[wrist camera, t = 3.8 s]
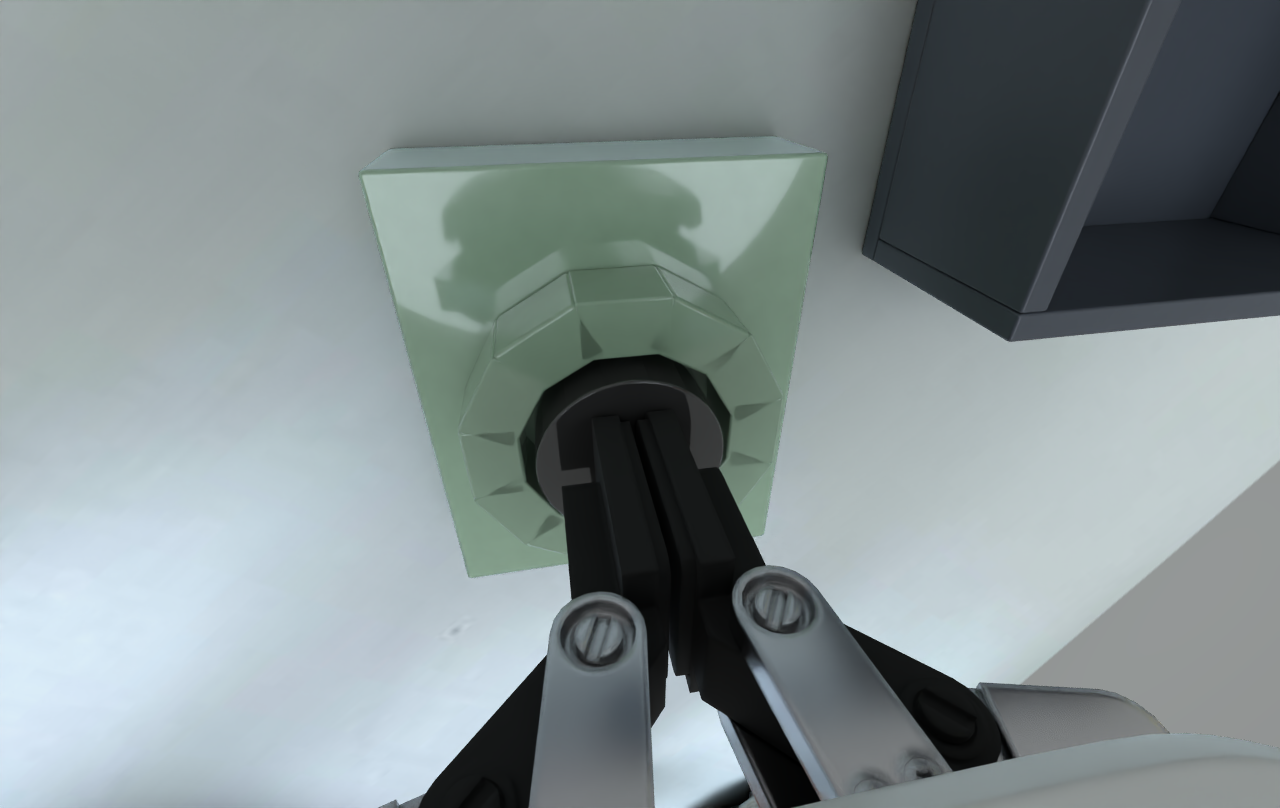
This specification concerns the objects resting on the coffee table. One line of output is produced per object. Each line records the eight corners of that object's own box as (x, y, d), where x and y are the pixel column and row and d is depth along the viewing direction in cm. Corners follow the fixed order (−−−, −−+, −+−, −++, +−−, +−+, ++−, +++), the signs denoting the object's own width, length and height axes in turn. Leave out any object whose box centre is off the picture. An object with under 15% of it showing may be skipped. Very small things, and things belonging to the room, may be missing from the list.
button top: (523, 342, 12) (524, 392, 10) (703, 327, 12) (732, 371, 11) (543, 483, 14) (546, 542, 12) (694, 464, 14) (717, 519, 13)
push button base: (387, 148, 12) (323, 193, 8) (778, 135, 13) (879, 169, 9) (475, 514, 18) (462, 635, 14) (736, 480, 19) (787, 583, 15)
